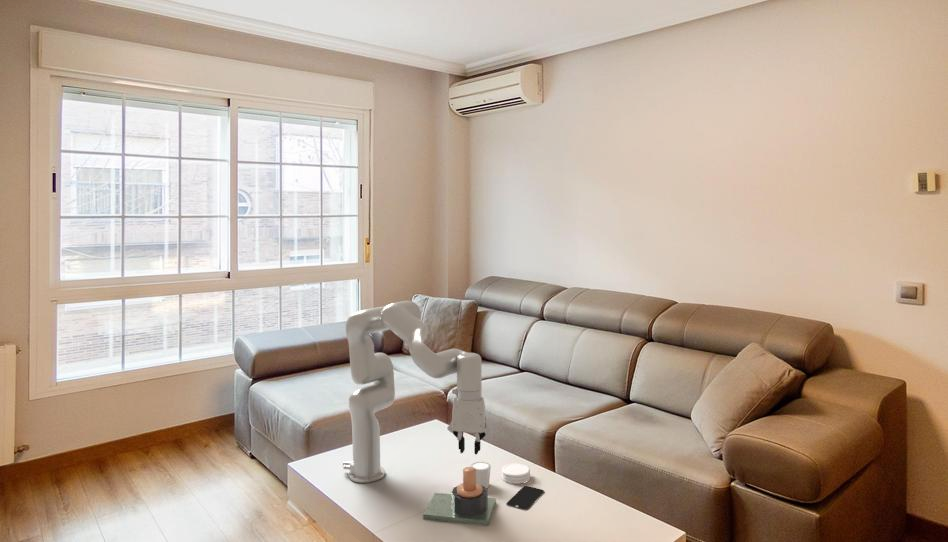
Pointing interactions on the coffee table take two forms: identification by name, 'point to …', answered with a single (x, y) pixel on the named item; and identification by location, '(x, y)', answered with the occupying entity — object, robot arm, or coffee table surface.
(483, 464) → the white grey cylinder
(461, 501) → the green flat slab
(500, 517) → the coffee table surface
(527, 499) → the smartphone
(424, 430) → the coffee table surface
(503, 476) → the white short cylinder
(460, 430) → the robot arm
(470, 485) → the cap
